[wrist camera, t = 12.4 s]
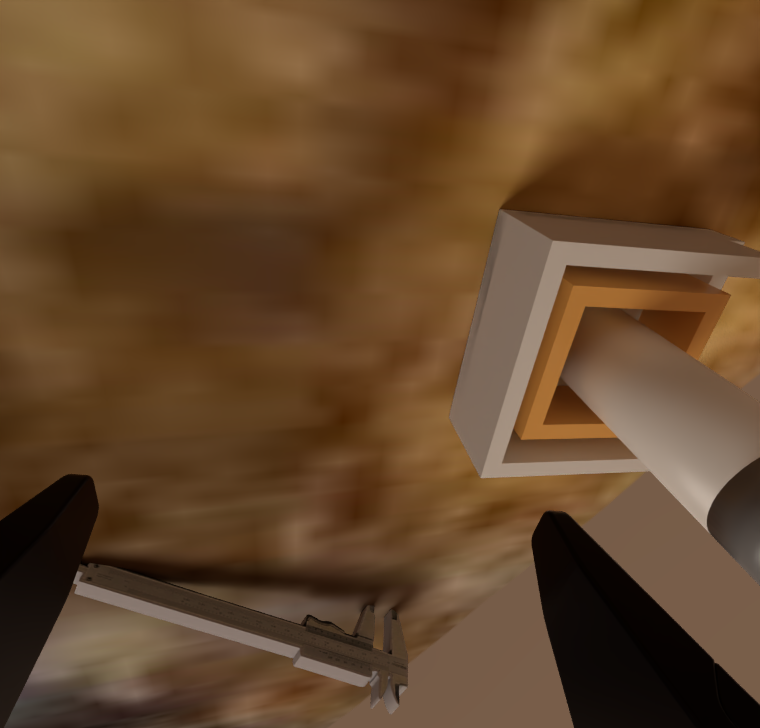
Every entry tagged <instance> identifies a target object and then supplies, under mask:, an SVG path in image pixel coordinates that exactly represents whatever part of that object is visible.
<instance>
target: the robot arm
mask: <svg viewBox="0 0 760 728" xmlns="http://www.w3.org/2000/svg"><path fill="white" fill-rule="evenodd" d="M98 510H99V504H98V499H97V495H96V490H95V486H94V481H93V479H92V478H91V477H90V476H88V475H78V474H68V475H65V476H63V477H62V478H60V479H59V480H57V481H56V482H54V483H53V484H52V485H50V486H49V487H47V488H46V489H45V490H43V491H42V492H40V493H39V494H37V495H36V496H35V497H33V498H32V499H30V500H29V501H27V502H26V503H25V504H23V505H22V506H20V507H19V508H17V509H16V510H15V511H13V512H12V513H10V514H9V515H7V516H6V517H5V518H3V519H2V520H0V728H4V726H5V724H6V722H7V720H8V718H9V716H10V714H11V712H12V710H13V708H14V706H15V704H16V702H17V700H18V698H19V696H20V694H21V692H22V690H23V688H24V686H25V684H26V682H27V680H28V677H29V675H30V673H31V671H32V669H33V667H34V665H35V663H36V661H37V659H38V657H39V655H40V653H41V651H42V649H43V647H44V645H45V643H46V641H47V639H48V637H49V635H50V633H51V631H52V629H53V626H54V624H55V622H56V620H57V618H58V616H59V614H60V612H61V610H62V608H63V606H64V604H65V602H66V599H67V597H68V595H69V592H70V590H71V587H72V585H73V582H74V579H75V577H76V574H77V571H78V568H79V565H80V563H81V560H82V557H83V554H84V552H85V549H86V546H87V543H88V541H89V538H90V535H91V532H92V530H93V527H94V524H95V521H96V518H97V515H98ZM532 550H533V556H534V562H535V568H536V574H537V580H538V586H539V591H540V598H541V604H542V609H543V615H544V619H545V623H546V627H547V631H548V635H549V638H550V642H551V645H552V649H553V653H554V656H555V660H556V664H557V667H558V671H559V675H560V678H561V682H562V685H563V689H564V693H565V696H566V700H567V704H568V707H569V711H570V715H571V718H572V722H573V725H574V728H760V704H759V703H758V702H757V701H755V699H753V698H752V697H751V696H750V695H749V694H748V693H747V692H746V691H745V690H744V689H743V688H742V687H741V686H740V685H739V684H738V683H737V682H736V681H735V680H734V679H733V678H732V677H731V676H730V675H729V674H728V673H727V672H726V671H725V670H724V669H723V668H722V667H721V666H720V665H719V664H717V663H714V659H712V657H711V656H710V655H709V654H708V653H707V652H706V651H705V650H704V649H702V647H701V646H699V644H698V643H697V642H696V641H695V640H694V639H693V638H692V637H691V636H690V635H689V634H688V633H687V632H686V631H685V630H684V629H682V627H681V626H680V625H679V624H678V623H677V622H676V621H674V619H672V617H671V616H670V615H669V614H668V613H667V612H666V611H665V610H664V609H663V608H662V607H661V606H660V605H659V604H658V603H657V602H656V601H655V600H654V599H653V598H652V597H651V596H650V595H649V594H648V593H647V592H646V591H645V590H644V589H642V587H640V585H639V584H638V583H636V581H635V580H633V578H631V576H630V575H629V574H628V573H627V572H625V570H624V569H623V568H622V567H621V566H620V565H619V564H618V563H617V562H616V561H615V560H614V559H612V557H611V556H610V555H609V554H608V553H607V552H606V551H605V550H604V549H603V548H602V547H600V545H598V544H597V542H596V541H594V539H593V538H592V537H591V536H590V535H589V534H588V533H587V532H586V531H584V530H583V528H582V527H581V526H580V525H579V524H578V523H577V522H576V521H575V520H574V519H573V518H572V517H571V516H570V515H568V514H567V513H565V512H562V511H551V510H549V511H546V512H545V513H544V514H543V515H542V517H541V519H540V521H539V523H538V525H537V527H536V529H535V531H534V533H533V535H532Z"/></svg>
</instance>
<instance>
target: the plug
mask: <svg viewBox="0 0 760 728" xmlns="http://www.w3.org/2000/svg"><path fill="white" fill-rule="evenodd" d="M560 378H561V379H562V380H563V381H564V382H565V383H566V384H567V385H568V386H569V387H570V388H571V389H572V390H573V391H574V392H575V393H576V394H577V395H578V396H579V397H580V398H581V399H582V400H583V402H584V403H585V404H586V405H587V406H588V407H589V408H590V409H591V410H592V411H593V412H594V413H595V414H596V415H597V416H598V417H599V418H600V419H601V420H602V421H603V422H604V423H605V425H606V426H607V427H608V428H609V429H610V430H611V431H612V432H613V433H614V434H615V435H616V436H617V437H618V438H619V439H620V440H621V441H622V442H623V443H624V444H625V445H626V446H627V448H628V449H629V450H630V451H631V452H632V453H633V454H634V455H635V456H636V457H637V458H638V459H639V460H640V461H641V462H642V463H643V464H644V465H645V466H646V467H647V468H648V469H649V470H650V471H651V473H652V474H653V475H654V476H655V477H656V478H657V479H658V480H659V481H660V482H661V483H662V484H663V485H664V486H665V487H666V488H667V489H668V490H669V491H670V492H671V493H672V495H673V496H674V497H675V498H676V499H677V500H678V501H679V502H680V503H681V504H682V505H683V506H684V507H685V508H686V509H687V510H688V511H689V512H690V513H691V514H692V515H693V516H694V517H695V519H697V521H698V522H699V523H700V524H701V525H702V526H703V527H704V528H705V529H706V530H707V531H708V532H709V533H710V534H711V535H712V536H713V537H714V538H715V539H716V540H717V542H718V543H719V544H720V545H721V546H722V547H723V548H724V549H725V550H726V551H727V552H728V553H729V554H730V555H731V556H732V557H733V558H734V559H735V560H736V561H737V562H738V563H739V564H740V565H741V566H742V567H743V569H744V570H745V571H746V572H747V573H748V574H749V575H750V576H751V577H752V578H753V579H754V580H755V581H756V582H757V583H758V584H759V585H760V402H759V401H758V400H756V399H755V398H753V397H752V396H750V395H749V394H747V393H746V392H744V391H743V390H741V389H740V388H738V387H737V386H735V385H734V384H732V383H731V382H729V381H728V380H726V379H725V378H723V377H722V376H720V375H719V374H717V373H716V372H714V371H713V370H711V369H710V368H708V367H707V366H705V365H704V364H702V363H701V362H699V361H698V360H696V359H695V358H693V357H692V356H690V355H689V354H687V353H686V352H684V351H683V350H681V349H680V348H678V347H677V346H675V345H674V344H672V343H671V342H669V341H668V340H666V339H665V338H663V337H662V336H660V335H659V334H657V333H656V332H654V331H653V330H651V329H650V328H648V327H647V326H645V325H644V324H642V323H641V322H639V321H638V320H636V319H635V318H633V317H632V316H630V315H629V314H627V313H626V312H624V311H623V310H621V309H620V308H606V307H586V306H585V309H584V311H583V314H582V317H581V320H580V323H579V325H578V328H577V331H576V334H575V336H574V339H573V342H572V345H571V347H570V350H569V353H568V356H567V359H566V361H565V364H564V367H563V370H562V372H561V375H560Z"/></svg>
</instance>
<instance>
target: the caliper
mask: <svg viewBox="0 0 760 728" xmlns="http://www.w3.org/2000/svg"><path fill="white" fill-rule="evenodd" d="M73 583H74V584H77V587H76V590H75V594H78V595H82V596H85V597H88V598H92V599H95V600H98V601H102V602H105V603H108V604H112V605H115V606H118V607H122V608H125V609H128V610H131V611H135V612H138V613H141V614H145V615H148V616H151V617H155V618H158V619H161V620H165V621H168V622H172V623H175V624H178V625H182V626H185V627H189V628H192V629H195V630H199V631H202V632H206V633H209V634H212V635H216V636H219V637H223V638H226V639H229V640H233V641H236V642H239V643H243V644H246V645H250V646H253V647H256V648H260V649H263V650H267V651H270V652H273V653H277V654H280V655H284V656H287V657H290V658H293V665H294V666H295V667H298V668H302V669H305V670H308V671H311V672H314V673H318V674H321V675H324V676H327V677H331V678H334V679H337V680H340V681H343V682H347V683H350V684H353V685H356V686H360V687H364V686H365V685H366V684H367V683H368V681H370V685H371V686H372V691H371V708H373V707H374V706H375V705H376V704H377V703H378V702H379V700H380V699H381V698H382V696H383V699H384V702H385V706H386V708H387V710H388V712H389V713H390V714H392V713H393V712H394V711H395V709H396V708H397V707H398V706H399V696H400V695H401V694H402V693H403V692H404V690H405V689H406V688H407V686H408V654H407V650H406V645H405V641H404V637H403V632H402V628H401V624H400V620H399V616H398V614H397V613H396V612H395V611H394V610H392V609H390V611H389V612H388V613H387V615H386V616H385V617H384V642H383V651H381V650H378V649H375V648H373V640H374V626H375V615H374V606H371V605H367V606H366V608H365V609H364V610H363V612H362V613H361V615H360V617H359V619H358V622H357V624H356V627H355V629H354V632H353V634H352V635H349V634H346V633H345V632H344V630H342V629H341V628H339V627H338V626H336V625H335V624H333V623H332V622H329V621H321V620H318V619H317V618H315V617H313V616H312V615H307V616H306V617H305V618H304V620H303V621H302V623H301V624H297V623H294V622H291V621H287V620H284V619H281V618H278V617H275V616H271V615H268V614H265V613H262V612H259V611H255V610H252V609H249V608H246V607H243V606H239V605H236V604H233V603H230V602H227V601H223V600H220V599H217V598H214V597H211V596H207V595H204V594H201V593H198V592H195V591H192V590H189V589H186V588H183V587H179V586H176V585H173V584H170V583H167V582H164V581H161V580H158V579H154V578H151V577H148V576H145V575H142V574H139V573H136V572H133V571H130V570H126V569H123V568H119V567H113V566H106V565H99V564H93V563H89V564H88V566H84V565H81V564H80V565H79V568H78V571H77V574H76V577H75V579H74V582H73Z"/></svg>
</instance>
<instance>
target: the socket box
mask: <svg viewBox="0 0 760 728" xmlns="http://www.w3.org/2000/svg"><path fill="white" fill-rule="evenodd" d="M744 243H745V242H744V241H741V240H738V239H735V238H732V237H730V236H727V235H724V234H721V233H718V232H716V231H713V230H710V229H701V228H690V227H680V226H670V225H659V224H649V223H639V222H628V221H618V220H608V219H597V218H587V217H577V216H566V215H556V214H546V213H535V212H525V211H515V210H504V209H499V214H498V218H497V222H496V226H495V230H494V234H493V238H492V242H491V247H490V251H489V255H488V259H487V263H486V267H485V271H484V275H483V279H482V284H481V288H480V292H479V296H478V300H477V304H476V308H475V312H474V316H473V321H472V325H471V329H470V333H469V337H468V341H467V345H466V349H465V353H464V358H463V362H462V366H461V370H460V374H459V378H458V382H457V386H456V390H455V395H454V399H453V403H452V407H451V411H450V415H449V418H450V420H451V422H452V424H453V426H454V428H455V430H456V432H457V434H458V436H459V438H460V440H461V441H462V443H463V445H464V447H465V449H466V451H467V453H468V455H469V457H470V459H471V461H472V463H473V464H474V466H475V468H476V470H477V472H478V474H479V476H480V478H494V477H519V476H544V475H568V474H593V473H617V472H642V471H650V470H649V469H648V468H647V467H646V466H645V465H644V464H643V463H642V462H641V461H640V460H639V459H638V458H637V457H636V456H635V455H634V454H633V453H632V452H631V451H630V450H629V449H628V448H627V446H626V445H625V444H624V443H623V442H622V441H621V440H620V439H619V438H618V437H617V436H616V435H615V434H614V433H613V432H612V431H611V430H610V429H609V428H608V427H607V426H606V425H605V423H604V422H603V421H602V420H601V419H600V418H599V417H598V416H597V415H596V414H595V413H594V412H593V411H592V410H591V409H590V408H589V407H588V406H587V405H586V404H585V403H584V402H583V400H582V399H581V398H580V397H579V396H578V395H577V394H576V393H575V392H574V391H573V390H572V389H571V388H570V387H569V386H568V385H567V384H566V383H565V382H564V381H563V380H562V379H561V378H560V375H561V372H562V370H563V367H564V364H565V361H566V359H567V356H568V353H569V350H570V347H571V345H572V342H573V339H574V336H575V334H576V331H577V328H578V325H579V323H580V320H581V317H582V314H583V311H584V309H585V306H586V307H606V308H620V309H621V310H623V311H624V312H626V313H627V314H629V315H630V316H632V317H633V318H635V319H636V320H638V321H639V322H641V323H642V324H644V325H645V326H647V327H648V328H650V329H651V330H653V331H654V332H656V333H657V334H659V335H660V336H662V337H663V338H665V339H666V340H668V341H669V342H671V343H672V344H674V345H675V346H677V347H678V348H680V349H681V350H683V351H684V352H686V353H687V354H689V355H690V356H692V357H693V358H695V359H696V360H698V359H699V357H700V355H701V353H702V351H703V349H704V347H705V345H706V343H707V341H708V339H709V337H710V335H711V333H712V331H713V329H714V327H715V326H716V324H717V322H718V320H719V318H720V316H721V314H722V312H723V310H724V308H725V306H726V304H727V302H728V300H729V298H730V296H731V295H730V294H728V293H726V292H724V291H722V290H721V289H722V287H723V285H724V283H725V281H726V279H727V277H728V276H729V277H743V278H757V279H760V251H757V250H754V249H751V248H749V247H746V246H743V245H744Z"/></svg>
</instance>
